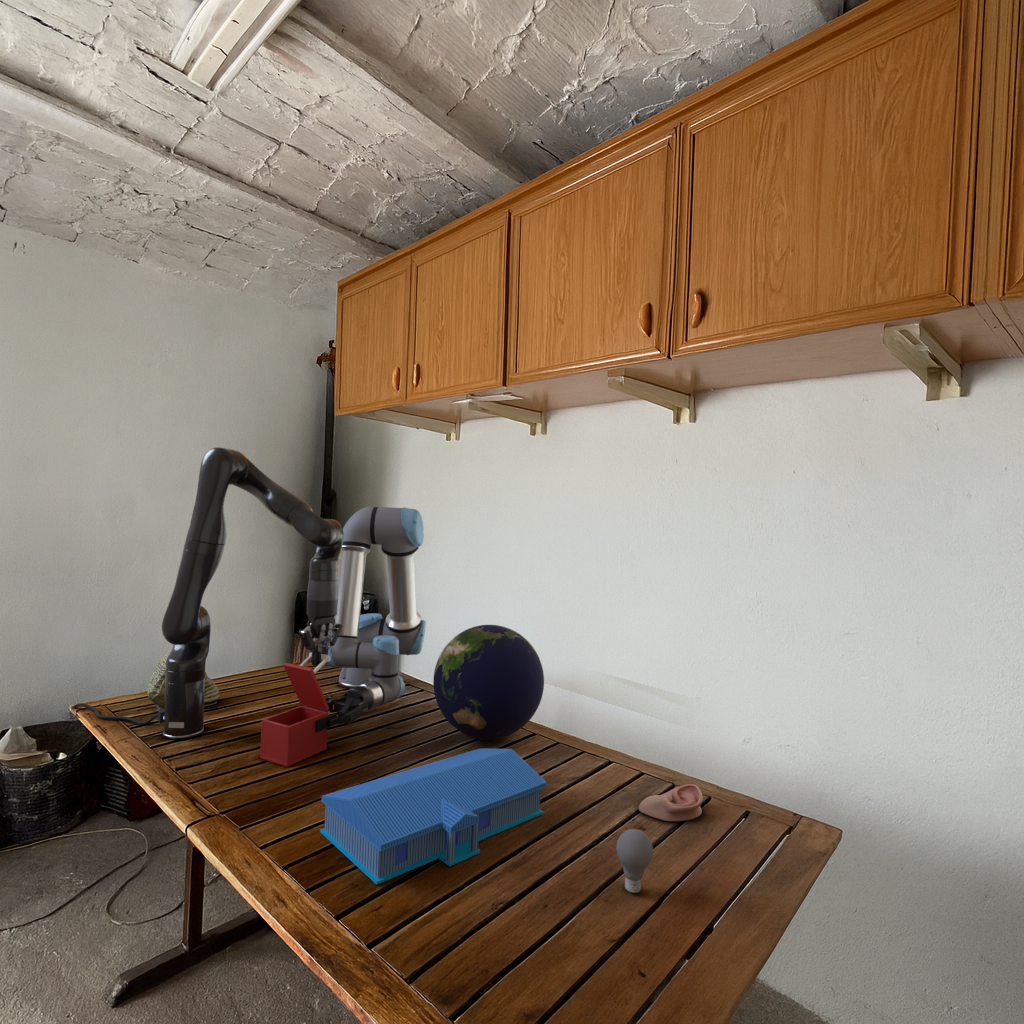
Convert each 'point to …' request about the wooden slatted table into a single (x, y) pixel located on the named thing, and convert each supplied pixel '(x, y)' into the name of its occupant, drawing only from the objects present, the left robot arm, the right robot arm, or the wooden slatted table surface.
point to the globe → (488, 681)
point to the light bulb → (634, 857)
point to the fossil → (158, 687)
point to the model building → (431, 811)
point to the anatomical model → (674, 804)
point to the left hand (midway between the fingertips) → (319, 664)
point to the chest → (292, 736)
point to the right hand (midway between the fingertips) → (301, 722)
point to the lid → (307, 683)
